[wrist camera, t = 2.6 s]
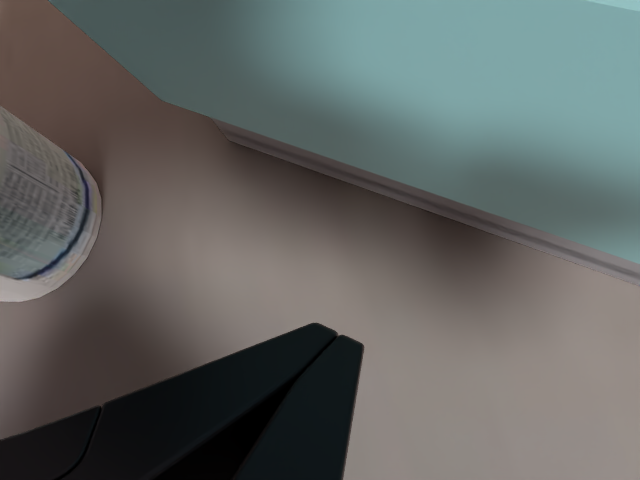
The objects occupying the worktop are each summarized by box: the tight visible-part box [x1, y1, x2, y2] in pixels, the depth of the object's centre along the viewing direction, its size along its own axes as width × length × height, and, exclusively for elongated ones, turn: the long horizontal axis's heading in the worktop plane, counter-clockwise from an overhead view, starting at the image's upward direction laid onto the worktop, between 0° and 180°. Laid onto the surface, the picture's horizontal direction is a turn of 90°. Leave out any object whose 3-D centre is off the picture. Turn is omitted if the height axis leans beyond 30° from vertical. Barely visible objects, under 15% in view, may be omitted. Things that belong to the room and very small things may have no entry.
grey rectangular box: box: [210, 117, 640, 286], centre depth 16 cm, size 8×18×4 cm, turn 65°
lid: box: [48, 0, 640, 264], centre depth 10 cm, size 8×18×1 cm
